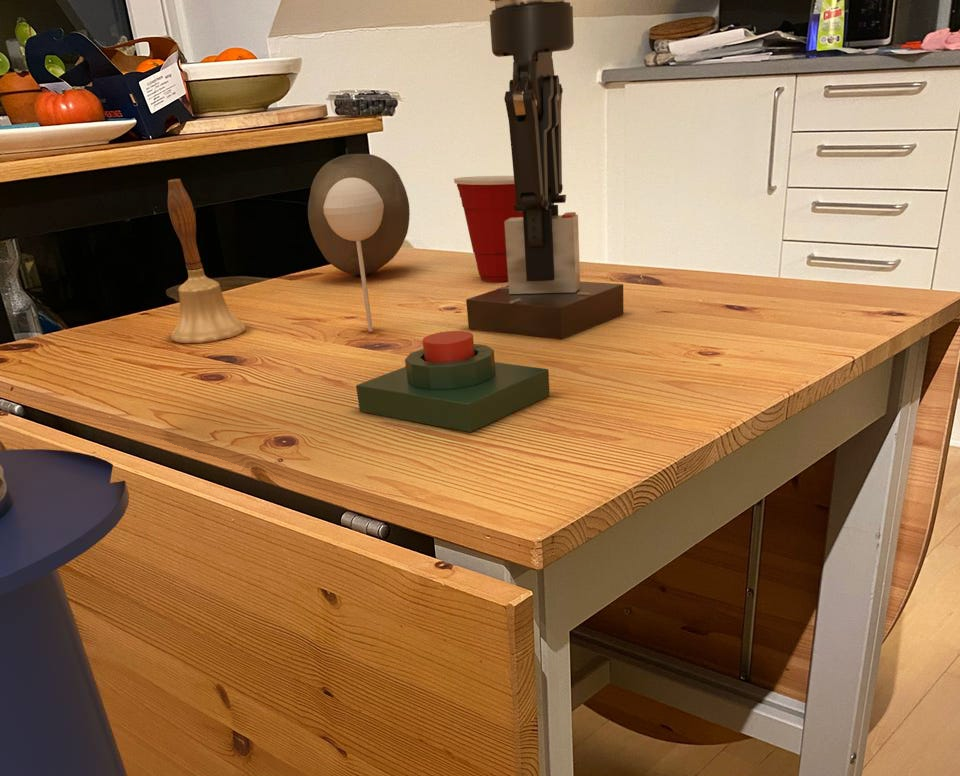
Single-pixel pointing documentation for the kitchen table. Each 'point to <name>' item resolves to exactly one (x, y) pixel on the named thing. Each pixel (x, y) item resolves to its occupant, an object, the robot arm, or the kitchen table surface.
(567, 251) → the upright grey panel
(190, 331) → the hand bell
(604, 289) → the plate
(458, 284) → the kitchen table surface
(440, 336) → the bell button
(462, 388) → the button box
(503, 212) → the plastic cup
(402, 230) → the brown ovoid
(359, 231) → the lollipop
